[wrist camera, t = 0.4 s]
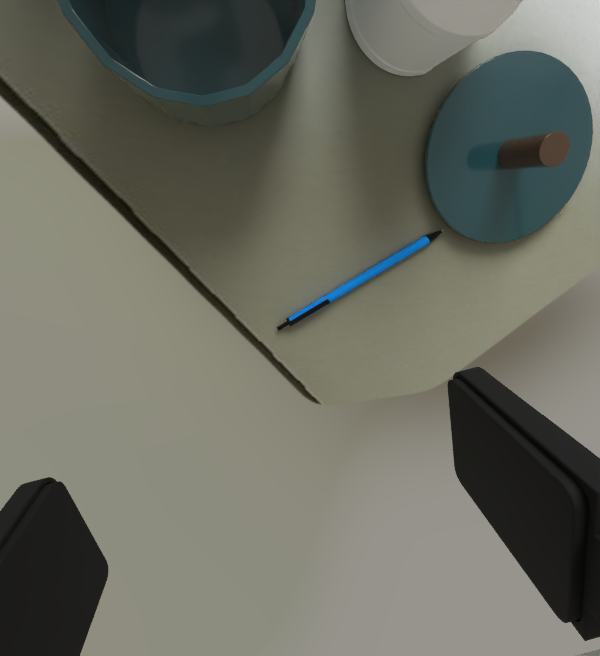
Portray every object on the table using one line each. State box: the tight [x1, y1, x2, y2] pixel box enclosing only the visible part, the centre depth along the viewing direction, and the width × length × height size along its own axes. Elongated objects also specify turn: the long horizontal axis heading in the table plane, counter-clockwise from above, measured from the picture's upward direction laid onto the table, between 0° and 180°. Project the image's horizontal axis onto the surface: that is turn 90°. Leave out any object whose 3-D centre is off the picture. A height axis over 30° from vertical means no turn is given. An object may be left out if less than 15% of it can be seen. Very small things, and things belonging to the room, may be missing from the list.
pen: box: [277, 230, 443, 330], centre depth 39 cm, size 1×19×1 cm, turn 120°
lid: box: [424, 51, 593, 243], centre depth 34 cm, size 16×16×7 cm
